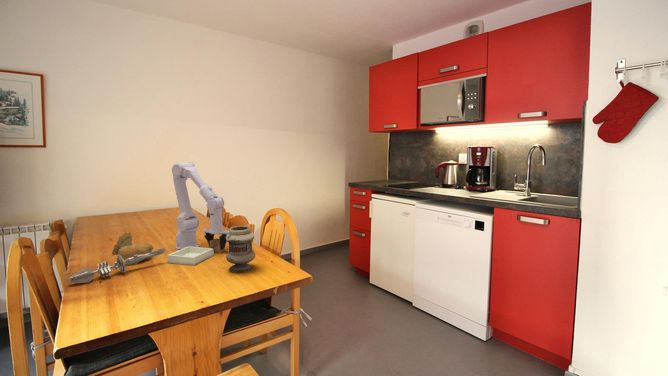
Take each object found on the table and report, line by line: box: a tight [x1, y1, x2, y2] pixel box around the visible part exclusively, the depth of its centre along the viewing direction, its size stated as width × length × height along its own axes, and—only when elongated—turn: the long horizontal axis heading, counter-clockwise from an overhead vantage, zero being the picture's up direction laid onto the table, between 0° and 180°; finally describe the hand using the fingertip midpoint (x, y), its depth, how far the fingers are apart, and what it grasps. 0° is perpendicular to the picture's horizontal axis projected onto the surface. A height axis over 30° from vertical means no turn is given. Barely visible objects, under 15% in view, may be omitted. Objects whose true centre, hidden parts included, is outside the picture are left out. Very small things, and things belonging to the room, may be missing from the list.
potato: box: [117, 242, 154, 261], centre depth 148 cm, size 10×14×8 cm
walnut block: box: [209, 237, 226, 255], centre depth 162 cm, size 5×5×6 cm
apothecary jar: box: [225, 225, 256, 274], centre depth 138 cm, size 12×12×18 cm
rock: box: [111, 231, 133, 255], centre depth 162 cm, size 10×8×10 cm
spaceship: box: [67, 248, 167, 284], centre depth 133 cm, size 8×35×8 cm
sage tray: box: [166, 246, 215, 266], centre depth 151 cm, size 14×14×4 cm
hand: (217, 248), depth 162 cm, fingers open, 6 cm apart
